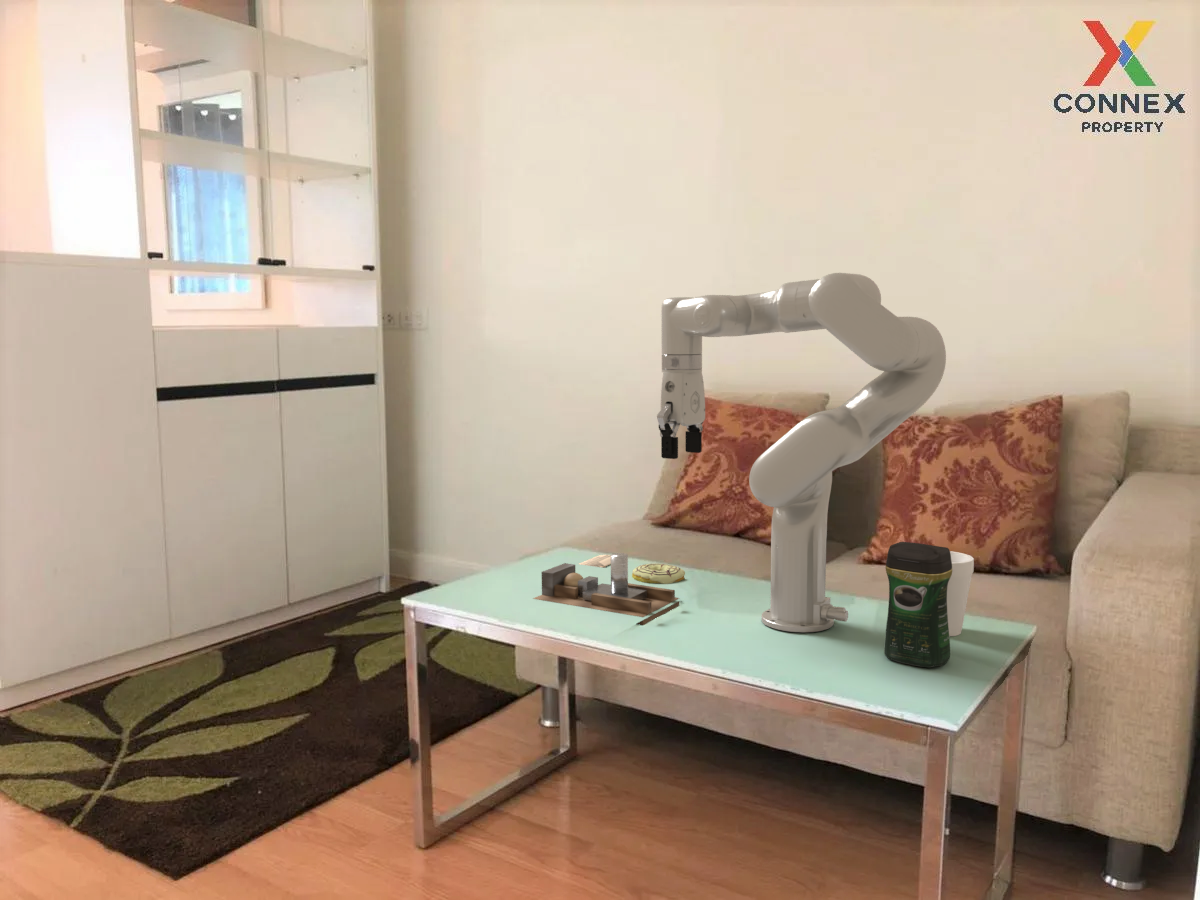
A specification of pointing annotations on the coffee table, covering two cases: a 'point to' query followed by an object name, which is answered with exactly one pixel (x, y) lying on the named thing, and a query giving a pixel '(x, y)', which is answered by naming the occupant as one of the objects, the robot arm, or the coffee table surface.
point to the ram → (612, 582)
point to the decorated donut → (658, 573)
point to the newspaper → (598, 561)
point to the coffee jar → (918, 604)
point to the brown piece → (605, 596)
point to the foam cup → (958, 590)
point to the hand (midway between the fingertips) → (681, 455)
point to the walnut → (572, 579)
